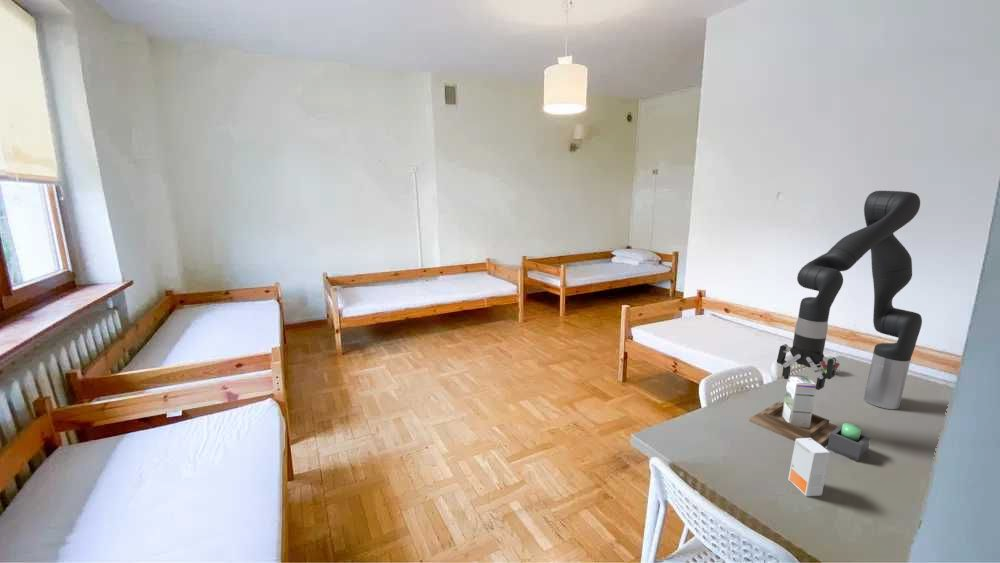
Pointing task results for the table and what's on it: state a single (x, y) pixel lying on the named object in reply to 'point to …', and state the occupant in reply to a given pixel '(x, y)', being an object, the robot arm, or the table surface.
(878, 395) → the robot arm
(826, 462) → the skincare box
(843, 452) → the button housing
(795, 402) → the syrup box
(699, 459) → the table surface
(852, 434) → the button
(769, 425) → the brown wooden square tray
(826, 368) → the geometric puzzle
